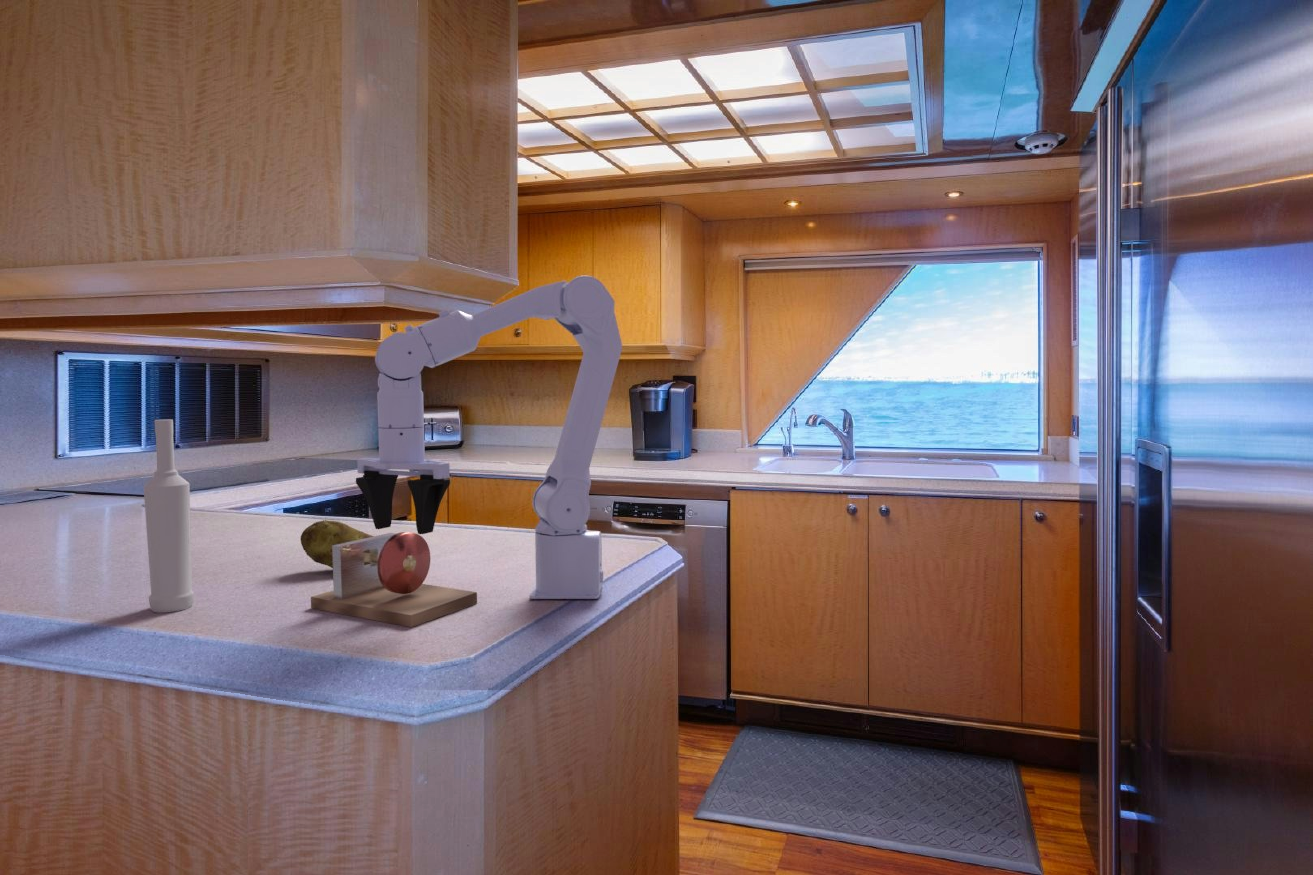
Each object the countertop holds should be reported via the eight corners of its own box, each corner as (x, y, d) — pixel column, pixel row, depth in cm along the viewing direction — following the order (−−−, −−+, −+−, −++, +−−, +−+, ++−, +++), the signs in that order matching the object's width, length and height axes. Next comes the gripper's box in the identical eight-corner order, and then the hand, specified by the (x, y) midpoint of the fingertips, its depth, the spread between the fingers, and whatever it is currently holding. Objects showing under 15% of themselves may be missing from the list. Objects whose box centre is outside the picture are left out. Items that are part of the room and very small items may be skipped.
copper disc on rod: (328, 590, 108) (326, 531, 107) (374, 577, 115) (373, 522, 114) (387, 600, 103) (386, 538, 102) (432, 586, 110) (431, 528, 109)
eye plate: (333, 598, 106) (332, 545, 105) (391, 581, 115) (390, 532, 114) (341, 599, 105) (340, 546, 105) (399, 582, 114) (398, 533, 113)
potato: (371, 577, 123) (370, 526, 122) (293, 575, 125) (291, 524, 124) (396, 565, 131) (395, 516, 131) (322, 563, 133) (320, 515, 132)
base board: (311, 607, 107) (310, 596, 106) (381, 587, 117) (380, 577, 117) (411, 627, 98) (411, 615, 98) (477, 603, 109) (476, 592, 109)
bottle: (185, 599, 111) (177, 418, 109) (201, 606, 107) (193, 419, 106) (143, 608, 107) (134, 420, 105) (158, 615, 103) (149, 421, 102)
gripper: (337, 427, 105) (340, 530, 106) (420, 430, 98) (422, 540, 99) (379, 424, 111) (382, 522, 112) (460, 427, 104) (462, 531, 105)
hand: (403, 530), depth 106 cm, fingers open, 7 cm apart
